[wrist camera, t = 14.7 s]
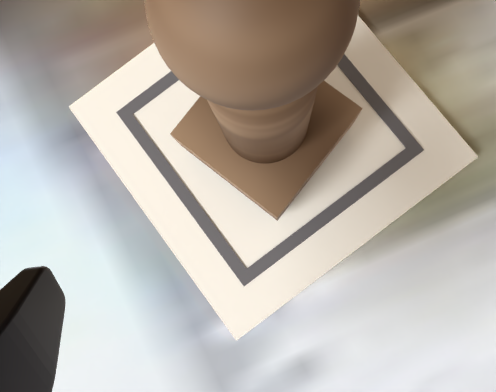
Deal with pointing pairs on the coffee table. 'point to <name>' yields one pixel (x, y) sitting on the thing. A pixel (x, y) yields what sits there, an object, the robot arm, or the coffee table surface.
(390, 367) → the coffee table surface
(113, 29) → the coffee table surface
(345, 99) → the stamp
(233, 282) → the card
